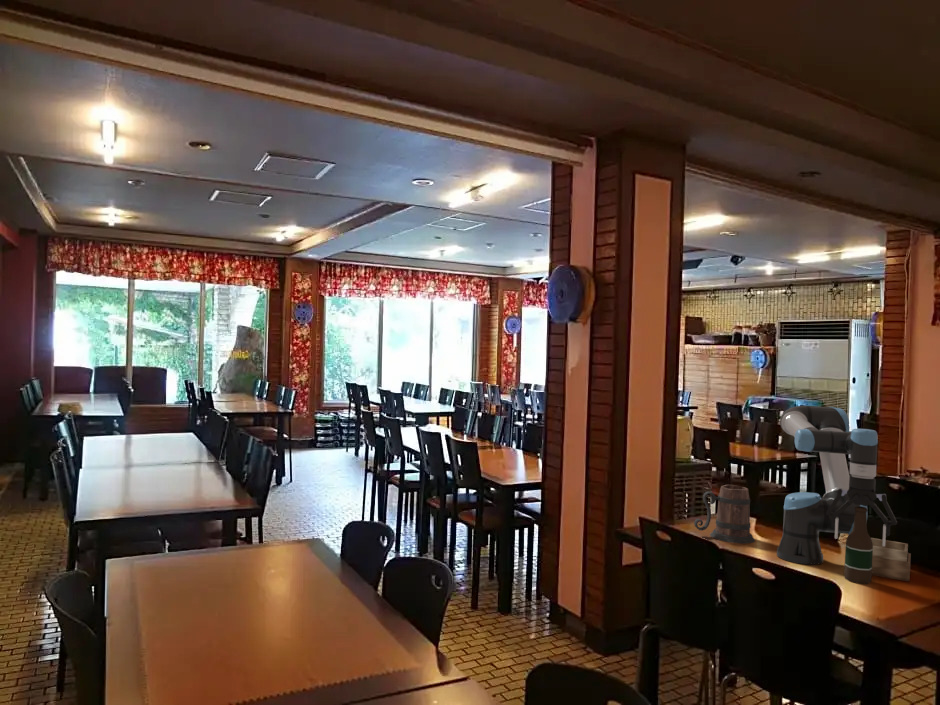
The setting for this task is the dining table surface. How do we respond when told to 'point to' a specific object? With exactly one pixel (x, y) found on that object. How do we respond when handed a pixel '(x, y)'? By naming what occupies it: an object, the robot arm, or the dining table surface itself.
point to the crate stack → (891, 560)
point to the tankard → (730, 515)
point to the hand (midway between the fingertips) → (859, 541)
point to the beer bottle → (859, 550)
